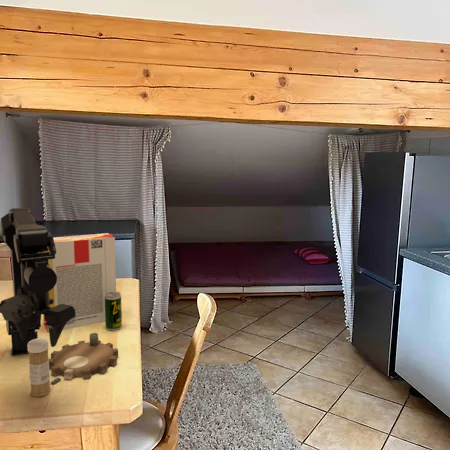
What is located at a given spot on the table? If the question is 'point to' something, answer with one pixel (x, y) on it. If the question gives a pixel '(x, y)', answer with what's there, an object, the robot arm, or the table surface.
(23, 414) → the table surface
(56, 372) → the brown gear wheel
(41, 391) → the sprinkles bottle
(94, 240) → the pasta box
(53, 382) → the index mark
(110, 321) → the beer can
